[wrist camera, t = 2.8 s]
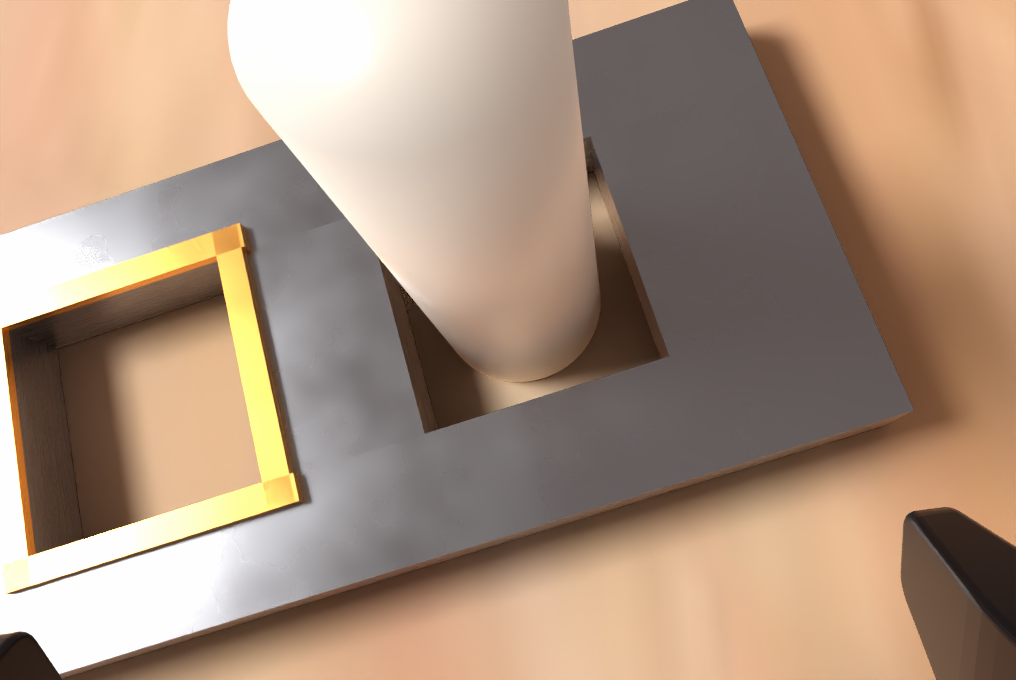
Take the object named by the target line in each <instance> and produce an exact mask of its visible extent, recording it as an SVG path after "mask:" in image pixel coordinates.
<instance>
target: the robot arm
mask: <svg viewBox="0 0 1016 680" xmlns="http://www.w3.org/2000/svg"><path fill="white" fill-rule="evenodd" d="M901 582H902V588H903V592H904V595H905V598H906V601H907V604H908V607H909V609H910V612H911V615H912V617H913V620H914V622H915V625H916V628H917V630H918V633H919V635H920V638H921V641H922V643H923V646H924V649H925V651H926V654H927V656H928V659H929V662H930V664H931V667H932V670H933V672H934V675H935V677H936V680H1016V547H1015V546H1014V545H1012V544H1011V543H1009V542H1007V541H1006V540H1004V539H1003V538H1001V537H1000V536H998V535H996V534H995V533H993V532H992V531H990V530H988V529H987V528H985V527H984V526H982V525H981V524H979V523H977V522H976V521H974V520H973V519H971V518H969V517H968V516H966V515H965V514H963V513H962V512H960V511H958V510H956V509H953V508H950V507H942V508H934V509H927V510H919V511H913V512H911V513H909V514H908V515H907V516H906V518H905V520H904V525H903V541H902V559H901ZM0 680H63V679H62V677H61V676H60V674H59V673H58V671H57V670H56V668H55V667H54V665H53V664H52V662H51V661H50V659H49V658H48V656H47V655H46V653H45V652H44V651H43V649H42V648H41V646H40V645H39V643H38V642H37V640H36V639H35V638H34V637H33V635H31V634H29V633H27V632H25V631H15V632H8V633H0Z"/></svg>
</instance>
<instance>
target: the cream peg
mask: <svg viewBox="0 0 1016 680" xmlns="http://www.w3.org/2000/svg"><path fill="white" fill-rule="evenodd" d="M228 45H229V50H230V55H231V60H232V64H233V67H234V69H235V72H236V75H237V78H238V80H239V82H240V84H241V86H242V88H243V89H244V91H245V93H246V95H247V97H248V98H249V99H250V101H251V102H252V103H253V104H254V106H255V107H256V108H257V110H258V111H259V112H260V113H261V115H262V116H263V117H264V118H265V119H266V121H267V122H268V123H269V124H270V126H271V127H272V128H273V129H274V130H275V132H276V133H277V134H278V135H279V137H280V138H281V139H282V140H283V141H284V143H285V144H286V145H287V146H288V148H289V149H290V150H291V151H292V152H293V154H294V155H295V156H296V157H297V159H298V160H299V161H300V162H301V163H302V165H303V166H304V167H305V168H306V169H307V171H308V172H309V173H310V174H311V176H312V177H313V178H314V179H315V180H316V182H317V183H318V184H319V185H320V187H321V188H322V189H323V190H324V191H325V193H326V194H327V195H328V196H329V198H330V199H331V200H332V201H333V202H334V204H335V205H336V206H337V207H338V209H339V210H340V211H341V212H342V213H343V215H344V216H345V217H346V218H347V220H348V221H349V222H350V223H351V224H352V226H353V227H354V228H355V229H356V230H357V232H358V233H359V234H360V235H361V237H362V238H363V239H364V240H365V241H366V243H367V244H368V245H369V246H370V248H371V249H372V250H373V251H374V252H375V254H376V255H377V256H378V257H379V259H380V260H381V261H382V262H383V263H384V265H385V266H386V267H387V268H388V270H389V271H390V272H391V273H392V274H393V276H394V277H395V278H396V279H397V281H398V282H399V283H400V284H401V285H402V287H403V288H404V289H405V290H406V291H407V293H408V294H409V295H410V296H411V298H412V299H413V300H414V301H415V302H416V304H417V305H418V306H419V307H420V309H421V310H422V311H423V312H424V313H425V315H426V316H427V317H428V318H429V320H430V321H431V322H432V323H433V324H434V326H435V327H436V328H437V329H438V331H439V332H440V333H441V334H442V335H443V337H444V338H445V339H446V340H447V341H448V343H449V344H450V345H451V346H452V348H453V349H454V350H455V351H456V352H457V354H458V355H459V356H460V357H461V358H462V359H463V360H464V361H465V362H466V363H467V364H468V365H469V366H471V367H472V368H473V369H475V370H476V371H478V372H480V373H482V374H484V375H486V376H488V377H491V378H494V379H497V380H502V381H508V382H529V381H535V380H539V379H543V378H546V377H548V376H551V375H553V374H555V373H557V372H559V371H561V370H562V369H564V368H566V367H567V366H568V365H570V364H571V363H572V362H573V361H575V360H576V358H577V357H578V356H579V355H580V354H581V353H582V352H583V351H584V349H585V348H586V347H587V345H588V344H589V342H590V340H591V339H592V337H593V335H594V332H595V330H596V327H597V324H598V320H599V316H600V307H601V299H600V287H599V278H598V269H597V260H596V251H595V242H594V233H593V224H592V215H591V206H590V197H589V188H588V179H587V170H586V161H585V152H584V143H583V134H582V125H581V116H580V107H579V98H578V89H577V80H576V71H575V62H574V53H573V44H572V35H571V26H570V17H569V8H568V0H231V1H230V6H229V15H228Z"/></svg>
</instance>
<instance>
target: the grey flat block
mask: <svg viewBox="0 0 1016 680" xmlns="http://www.w3.org/2000/svg"><path fill="white" fill-rule="evenodd" d="M572 44H573V53H574V62H575V71H576V80H577V89H578V98H579V107H580V116H581V125H582V134H583V143H584V152H585V161H586V170H587V173H588V172H591V171H594V174H595V177H596V179H597V182H598V185H599V188H600V191H601V193H602V196H603V199H604V202H605V205H606V207H607V210H608V213H609V216H610V219H611V221H612V224H613V227H614V230H615V233H616V235H617V238H618V241H619V244H620V247H621V249H622V252H623V255H624V258H625V261H626V263H627V266H628V269H629V272H630V275H631V277H632V280H633V283H634V286H635V289H636V291H637V294H638V297H639V300H640V303H641V305H642V308H643V311H644V314H645V316H646V319H647V322H648V325H649V328H650V330H651V333H652V336H653V339H654V342H655V344H656V347H657V350H658V353H659V356H660V358H661V359H659V360H656V361H653V362H650V363H646V364H643V365H640V366H637V367H634V368H631V369H627V370H624V371H621V372H618V373H615V374H612V375H609V376H605V377H602V378H599V379H596V380H593V381H590V382H586V383H583V384H580V385H577V386H574V387H571V388H568V389H564V390H561V391H558V392H555V393H552V394H549V395H545V396H542V397H539V398H536V399H533V400H530V401H527V402H523V403H520V404H517V405H514V406H511V407H508V408H504V409H501V410H498V411H495V412H492V413H489V414H486V415H482V416H479V417H476V418H473V419H470V420H467V421H464V422H460V423H457V424H454V425H451V426H448V427H445V428H441V429H438V427H437V423H436V420H435V416H434V412H433V409H432V405H431V401H430V397H429V394H428V390H427V386H426V383H425V379H424V375H423V371H422V368H421V364H420V360H419V356H418V353H417V349H416V345H415V342H414V338H413V334H412V330H411V327H410V323H409V319H408V316H407V312H406V308H405V304H404V301H403V297H402V293H401V290H400V286H399V282H398V281H397V279H396V278H395V277H394V276H393V274H392V273H391V272H390V271H389V270H388V268H387V267H386V266H385V265H384V263H383V262H382V261H381V260H380V259H379V257H378V256H377V255H376V254H375V252H374V251H373V250H372V249H371V248H370V246H369V245H368V244H367V243H366V241H365V240H364V239H363V238H362V237H361V235H360V234H359V233H358V232H357V230H356V229H355V228H354V227H353V226H352V224H351V223H350V222H349V221H348V220H347V218H346V217H345V216H344V215H343V213H342V212H341V211H340V210H339V209H338V207H337V206H336V205H335V204H334V202H333V201H332V200H331V199H330V198H329V196H328V195H327V194H326V193H325V191H324V190H323V189H322V188H321V187H320V185H319V184H318V183H317V182H316V180H315V179H314V178H313V177H312V176H311V174H310V173H309V172H308V171H307V169H306V168H305V167H304V166H303V165H302V163H301V162H300V161H299V160H298V159H297V157H296V156H295V155H294V154H293V152H292V151H291V150H290V149H289V148H288V146H287V145H286V144H285V143H284V141H283V140H282V139H281V140H279V141H276V142H273V143H270V144H267V145H264V146H261V147H258V148H255V149H252V150H249V151H246V152H243V153H240V154H238V155H235V156H232V157H229V158H226V159H223V160H220V161H217V162H214V163H211V164H208V165H205V166H202V167H199V168H197V169H194V170H191V171H188V172H185V173H182V174H179V175H176V176H173V177H170V178H167V179H164V180H161V181H159V182H156V183H153V184H150V185H147V186H144V187H141V188H138V189H135V190H132V191H129V192H126V193H123V194H120V195H118V196H115V197H112V198H109V199H106V200H103V201H100V202H97V203H94V204H91V205H88V206H85V207H82V208H79V209H77V210H74V211H71V212H68V213H65V214H62V215H59V216H56V217H53V218H50V219H47V220H44V221H41V222H39V223H36V224H33V225H30V226H27V227H24V228H21V229H18V230H15V231H12V232H9V233H6V234H3V235H0V633H8V632H15V631H25V632H27V633H29V634H31V635H33V637H34V638H35V639H36V640H37V642H38V643H39V645H40V646H41V648H42V649H43V651H44V652H45V653H46V655H47V656H48V658H49V659H50V661H51V662H52V664H53V665H54V667H55V668H56V670H57V671H58V673H59V674H60V676H61V677H62V679H63V678H66V677H69V676H72V675H76V674H79V673H82V672H85V671H89V670H92V669H95V668H98V667H102V666H105V665H108V664H111V663H115V662H118V661H121V660H124V659H128V658H131V657H134V656H137V655H141V654H144V653H147V652H150V651H154V650H157V649H160V648H163V647H167V646H170V645H173V644H176V643H180V642H183V641H186V640H189V639H193V638H196V637H199V636H202V635H206V634H209V633H212V632H215V631H219V630H222V629H225V628H228V627H232V626H235V625H238V624H241V623H245V622H248V621H251V620H254V619H258V618H261V617H264V616H267V615H271V614H274V613H277V612H280V611H284V610H287V609H290V608H293V607H297V606H300V605H303V604H306V603H310V602H313V601H316V600H319V599H323V598H326V597H329V596H332V595H336V594H339V593H342V592H345V591H349V590H352V589H355V588H358V587H362V586H365V585H368V584H371V583H375V582H378V581H381V580H384V579H388V578H391V577H394V576H397V575H401V574H404V573H407V572H410V571H414V570H417V569H420V568H423V567H427V566H430V565H433V564H436V563H440V562H443V561H446V560H449V559H453V558H456V557H459V556H462V555H466V554H469V553H472V552H475V551H479V550H482V549H485V548H488V547H492V546H495V545H498V544H501V543H505V542H508V541H511V540H514V539H518V538H521V537H524V536H527V535H531V534H534V533H537V532H540V531H544V530H547V529H550V528H553V527H557V526H560V525H563V524H566V523H570V522H573V521H576V520H579V519H583V518H586V517H589V516H592V515H596V514H599V513H602V512H605V511H609V510H612V509H615V508H618V507H622V506H625V505H628V504H631V503H635V502H638V501H641V500H644V499H648V498H651V497H654V496H657V495H661V494H664V493H667V492H670V491H674V490H677V489H680V488H683V487H687V486H690V485H693V484H696V483H700V482H703V481H706V480H709V479H713V478H716V477H719V476H722V475H726V474H729V473H732V472H735V471H739V470H742V469H745V468H748V467H752V466H755V465H758V464H761V463H765V462H768V461H771V460H774V459H778V458H781V457H784V456H787V455H791V454H794V453H797V452H800V451H804V450H807V449H810V448H813V447H817V446H820V445H823V444H826V443H830V442H833V441H836V440H839V439H843V438H846V437H849V436H852V435H856V434H859V433H862V432H865V431H869V430H872V429H875V428H878V427H882V426H885V425H888V424H890V423H892V422H894V421H895V420H897V419H899V418H901V417H903V416H905V415H907V414H908V413H910V412H912V411H914V409H913V407H912V405H911V402H910V400H909V398H908V396H907V393H906V391H905V389H904V386H903V384H902V382H901V380H900V377H899V375H898V373H897V371H896V368H895V366H894V364H893V362H892V359H891V357H890V355H889V353H888V350H887V348H886V346H885V343H884V341H883V339H882V337H881V334H880V332H879V330H878V328H877V325H876V323H875V321H874V319H873V316H872V314H871V312H870V310H869V307H868V305H867V303H866V301H865V298H864V296H863V294H862V291H861V289H860V287H859V285H858V282H857V280H856V278H855V276H854V273H853V271H852V269H851V267H850V264H849V262H848V260H847V258H846V255H845V253H844V251H843V248H842V246H841V244H840V242H839V239H838V237H837V235H836V233H835V230H834V228H833V226H832V224H831V221H830V219H829V217H828V215H827V212H826V210H825V208H824V205H823V203H822V201H821V199H820V196H819V194H818V192H817V190H816V187H815V185H814V183H813V181H812V178H811V176H810V174H809V172H808V169H807V167H806V165H805V162H804V160H803V158H802V156H801V153H800V151H799V149H798V147H797V144H796V142H795V140H794V138H793V135H792V133H791V131H790V129H789V126H788V124H787V122H786V120H785V117H784V115H783V113H782V110H781V108H780V106H779V104H778V101H777V99H776V97H775V95H774V92H773V90H772V88H771V86H770V83H769V81H768V79H767V77H766V74H765V72H764V70H763V67H762V65H761V63H760V61H759V58H758V56H757V54H756V52H755V49H754V47H753V45H752V43H751V40H750V38H749V36H748V34H747V31H746V29H745V27H744V24H743V22H742V20H741V18H740V15H739V13H738V11H737V9H736V6H735V4H734V2H733V0H688V1H685V2H682V3H679V4H677V5H674V6H671V7H668V8H665V9H662V10H659V11H656V12H653V13H650V14H647V15H644V16H641V17H639V18H636V19H633V20H630V21H627V22H624V23H621V24H618V25H615V26H612V27H609V28H606V29H603V30H600V31H598V32H595V33H592V34H589V35H586V36H583V37H580V38H577V39H574V40H572ZM221 294H224V296H225V301H226V306H227V311H228V316H229V321H230V325H231V330H232V335H233V340H234V345H235V350H236V355H237V360H238V365H239V370H240V375H241V380H242V385H243V390H244V395H245V400H246V405H247V410H248V415H249V420H250V424H251V429H252V434H253V439H254V444H255V449H256V454H257V459H258V464H259V469H260V474H261V479H262V483H259V484H256V485H253V486H250V487H247V488H244V489H240V490H237V491H234V492H231V493H228V494H225V495H222V496H218V497H215V498H212V499H209V500H206V501H203V502H200V503H196V504H193V505H190V506H187V507H184V508H181V509H177V510H174V511H171V512H168V513H165V514H162V515H159V516H155V517H152V518H149V519H146V520H143V521H140V522H137V523H133V524H130V525H127V526H124V527H121V528H118V529H114V530H111V531H108V532H105V533H102V534H99V535H96V536H92V537H89V538H86V539H83V536H82V528H81V521H80V514H79V506H78V499H77V492H76V484H75V477H74V470H73V462H72V455H71V448H70V440H69V433H68V426H67V418H66V411H65V404H64V396H63V389H62V382H61V374H60V367H59V360H58V352H57V349H58V348H61V347H64V346H67V345H70V344H73V343H76V342H79V341H82V340H85V339H88V338H91V337H94V336H97V335H100V334H103V333H106V332H109V331H112V330H115V329H118V328H121V327H124V326H127V325H130V324H133V323H136V322H139V321H142V320H145V319H148V318H151V317H154V316H157V315H160V314H163V313H166V312H169V311H172V310H175V309H178V308H181V307H184V306H187V305H190V304H193V303H196V302H199V301H202V300H205V299H209V298H212V297H215V296H218V295H221Z"/></svg>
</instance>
